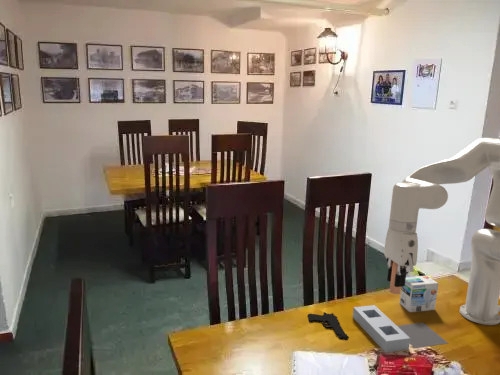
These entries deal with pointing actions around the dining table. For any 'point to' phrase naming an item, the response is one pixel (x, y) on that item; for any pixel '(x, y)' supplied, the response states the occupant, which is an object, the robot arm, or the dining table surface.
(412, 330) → the mat
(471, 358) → the dining table surface
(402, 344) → the socket block
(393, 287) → the dowel
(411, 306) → the light bulb box
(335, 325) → the handgun
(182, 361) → the dining table surface
